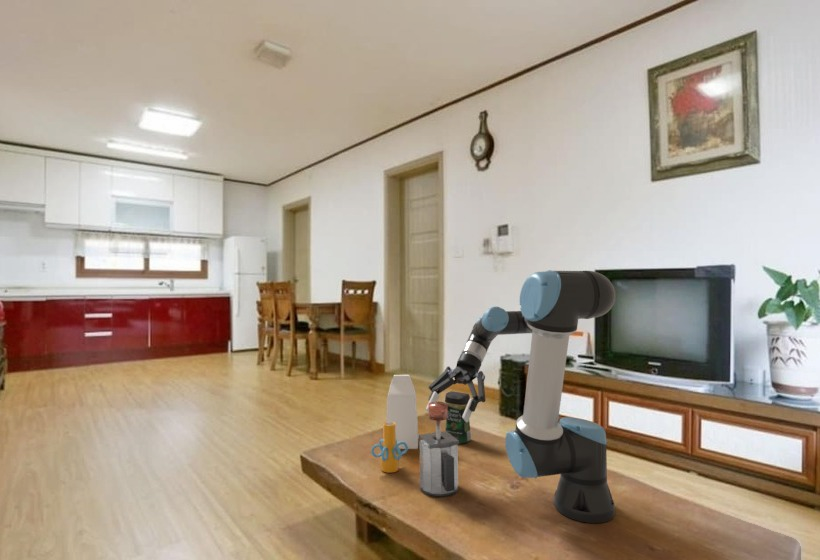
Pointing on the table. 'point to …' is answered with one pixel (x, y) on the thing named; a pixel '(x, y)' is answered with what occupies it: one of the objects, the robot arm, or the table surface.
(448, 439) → the press carafe
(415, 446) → the milk
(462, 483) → the table surface
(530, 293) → the robot arm
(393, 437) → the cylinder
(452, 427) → the coffee jar
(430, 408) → the plunger
